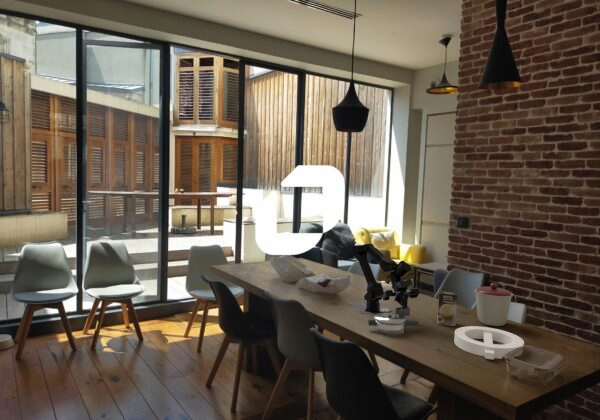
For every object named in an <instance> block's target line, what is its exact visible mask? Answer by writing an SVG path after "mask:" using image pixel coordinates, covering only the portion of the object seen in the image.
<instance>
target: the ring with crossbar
mask: <svg viewBox="0 0 600 420" xmlns="http://www.w3.org/2000/svg"><path fill="white" fill-rule="evenodd" d="M476 339H482V340H483V342H482V341H479V340H476ZM453 342H454V344H455V345H456V347H458V348H459V349H461V350H463V351H465V352H468V353H470V354H472V355H473V354H474V355H476V356H481V357H484V359H487V360H493V361H494V360H495V359H497V360H498V359H500V360H501V359H502V356H503V355H504V354H506V353H508V352H510V351H512V350H514V349H516V348H519V347H523V346H524V347H525V341H524V339H523V338H522V337H520V336H518V335H516V334H514V333H511V332H509V331H506V330H503V329H499V328H492V327H486V326H478V325H477V326H476V325H475V326H474V325H470V326H462V327H458V328H456V329H455V330H454V341H453ZM494 342H498V344H495V343H494ZM499 343H500V344H499ZM502 360H503V359H502Z"/></svg>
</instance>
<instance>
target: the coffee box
mask: <svg viewBox="0 0 600 420" xmlns="http://www.w3.org/2000/svg"><path fill="white" fill-rule="evenodd" d="M437 300H438V301H437V314H436V324H437V325H442V326H448V327H449V326H450V327H456V322H457V306H458V292H454V291H453V292H452V291H447V290H438V299H437Z"/></svg>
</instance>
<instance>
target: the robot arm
mask: <svg viewBox="0 0 600 420" xmlns="http://www.w3.org/2000/svg"><path fill="white" fill-rule="evenodd" d="M350 251H351V254H352V255H353V258H354V259H356V260H357V261H358V263H359V265H360V269H361V270H362V275H363V276H364V279H365V281H366V284H367V286H366V291H367V292H366V293H365V294H364V295H363V298H364V300H365V301H366V305H365V307H366V308H365V309H364V311H365V312H368V313H373V314H375V313H376V314H377V313H378V312H380V311H381V308H380V304H381V303H380V301H382V300H383V301H389V300H390V298H391V297H393V298H394V299H393V301H394V302H397V303H398V304H399V305H400V307H408V300H409V298H410V299H416V298H418V297H419V295H420V294H421V290H420V288H418V287H413V288H410V287H411V286H412V285H413V281H412V278H408V279H406V280H403V279H402V278H404V277H406V275H408V274H409V273H410V272H411V271H412V266H411V265H410V264H409V263H408V262H406V261H405V260H404V259H403V260H400V261H399V262H396V261H395V260H394V259H393V258H389V257H387V256H385V254H384V253H382V252H381V251H380V250H379V249H378V248H376V247H375V246H374V244H373V243H365V244H364V243H363V244H357V245H353V246H352V247H351V250H350ZM368 254H369V255H370V256H371V257H372V258H373V259H374V260H375V261H376V262H377V263H378V264H379V267H380V269H381V270H382V271H383V272H384V273H387V276H386V279H388V280H389V281H390V284H391V289H392V290H391V289H385V290H384V287H383V285H382V283H381V282H378V281H377V280H376V278H375V275H374V272H373V270H372V267H371V266H370V262H369V259H368ZM389 272H390V273H389ZM408 288H410V290H409V291H408Z"/></svg>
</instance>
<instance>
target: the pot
mask: <svg viewBox="0 0 600 420" xmlns="http://www.w3.org/2000/svg"><path fill="white" fill-rule="evenodd" d="M367 325H368V326H372V327H373V326H374V331H375V332H376V333H378V334H380V335H384V336H400V335H403V334H404V333H405V327H417V326H419V320H417V319H406V320H405V323H403V324H385V323H380V322H378V321H376V320H374V319H367Z"/></svg>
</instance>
